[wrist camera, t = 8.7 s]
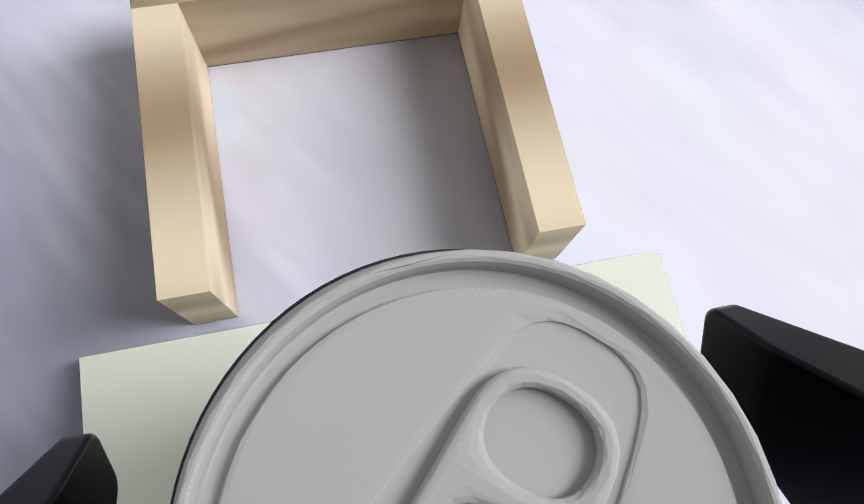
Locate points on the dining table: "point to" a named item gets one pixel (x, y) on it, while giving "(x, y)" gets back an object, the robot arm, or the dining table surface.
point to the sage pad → (204, 369)
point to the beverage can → (472, 397)
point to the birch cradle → (311, 32)
